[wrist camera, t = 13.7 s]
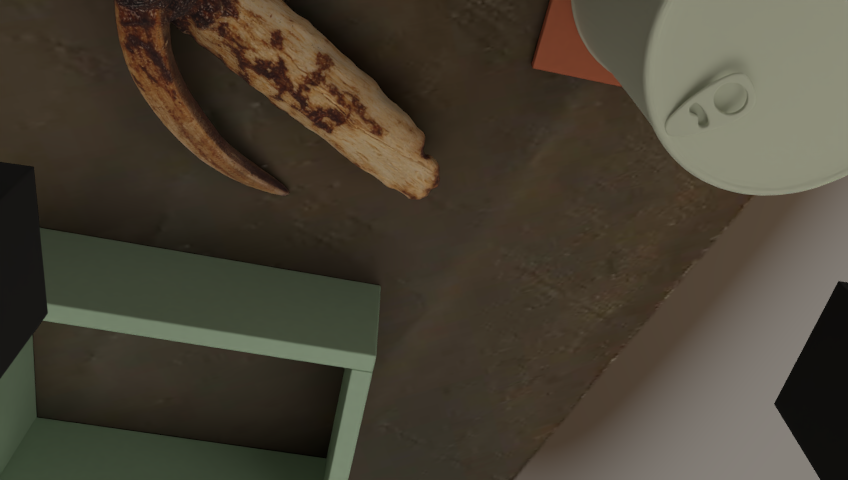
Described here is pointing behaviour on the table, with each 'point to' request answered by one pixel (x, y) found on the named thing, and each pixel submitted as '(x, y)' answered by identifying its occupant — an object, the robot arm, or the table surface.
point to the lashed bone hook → (272, 87)
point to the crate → (196, 324)
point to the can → (733, 84)
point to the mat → (566, 47)
